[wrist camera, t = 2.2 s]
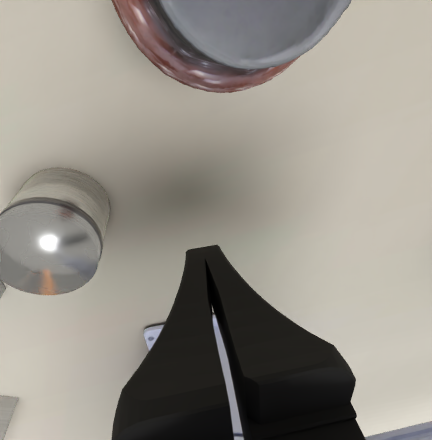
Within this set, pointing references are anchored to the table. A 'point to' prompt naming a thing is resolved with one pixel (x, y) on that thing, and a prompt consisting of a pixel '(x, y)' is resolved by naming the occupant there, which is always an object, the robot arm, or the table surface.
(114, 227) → the table surface
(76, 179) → the cylinder
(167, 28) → the supplement bottle
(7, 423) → the white paper bag
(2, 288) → the split ring collar
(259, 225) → the table surface
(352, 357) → the table surface
